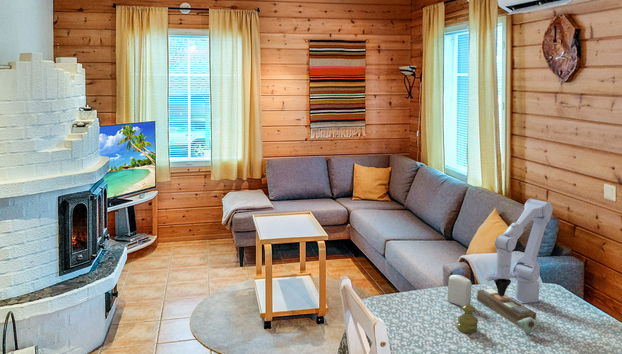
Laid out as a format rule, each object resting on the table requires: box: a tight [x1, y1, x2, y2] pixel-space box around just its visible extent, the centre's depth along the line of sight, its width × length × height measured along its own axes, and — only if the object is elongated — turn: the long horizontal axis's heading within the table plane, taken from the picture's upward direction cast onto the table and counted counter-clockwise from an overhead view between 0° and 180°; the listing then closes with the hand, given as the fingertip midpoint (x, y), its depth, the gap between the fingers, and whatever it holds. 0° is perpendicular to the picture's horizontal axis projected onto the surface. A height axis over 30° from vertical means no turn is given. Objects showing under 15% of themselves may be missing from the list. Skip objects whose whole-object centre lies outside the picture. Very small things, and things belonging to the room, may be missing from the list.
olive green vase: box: [456, 303, 479, 334], centre depth 222 cm, size 7×7×10 cm
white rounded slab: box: [447, 274, 472, 307], centre depth 247 cm, size 10×4×12 cm, turn 39°
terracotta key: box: [493, 295, 510, 301], centre depth 243 cm, size 4×4×2 cm
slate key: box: [513, 305, 531, 314], centre depth 231 cm, size 4×4×2 cm
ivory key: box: [483, 288, 498, 295], centre depth 249 cm, size 4×4×2 cm
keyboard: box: [476, 288, 537, 327], centre depth 240 cm, size 8×28×4 cm, turn 19°
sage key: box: [503, 302, 518, 307], centre depth 237 cm, size 4×4×2 cm
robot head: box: [517, 317, 539, 335], centre depth 219 cm, size 8×4×7 cm, turn 96°
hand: (500, 295), depth 243 cm, fingers closed
